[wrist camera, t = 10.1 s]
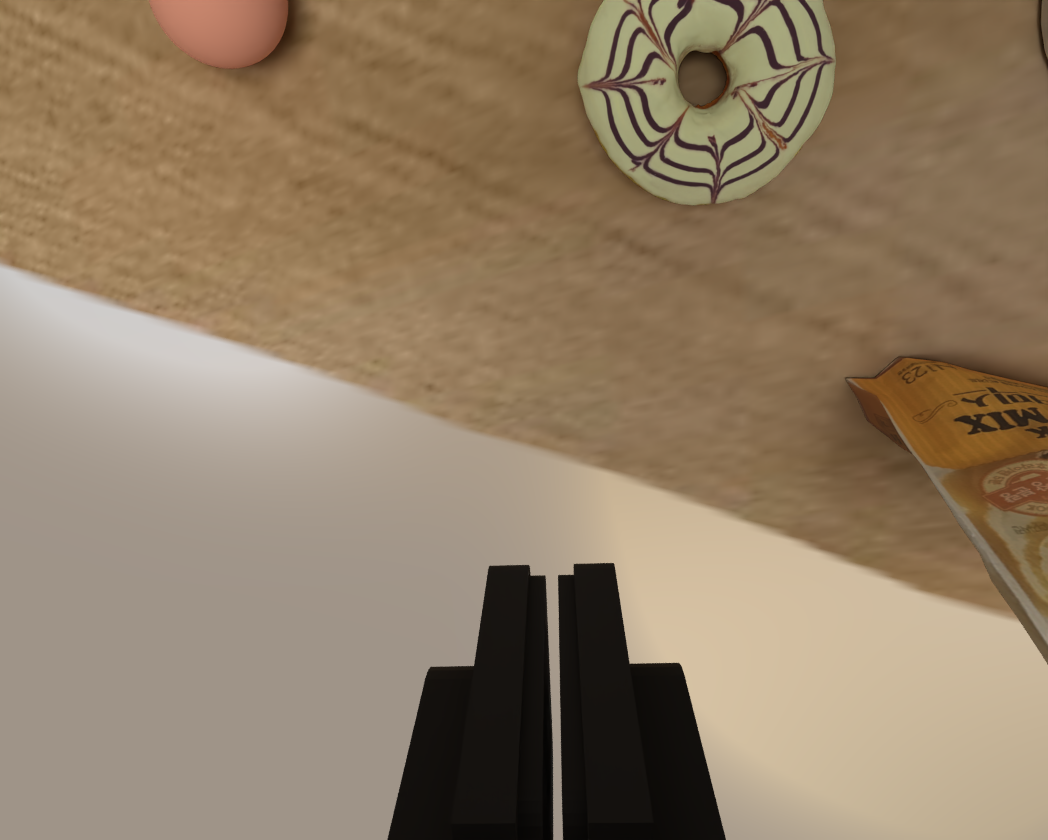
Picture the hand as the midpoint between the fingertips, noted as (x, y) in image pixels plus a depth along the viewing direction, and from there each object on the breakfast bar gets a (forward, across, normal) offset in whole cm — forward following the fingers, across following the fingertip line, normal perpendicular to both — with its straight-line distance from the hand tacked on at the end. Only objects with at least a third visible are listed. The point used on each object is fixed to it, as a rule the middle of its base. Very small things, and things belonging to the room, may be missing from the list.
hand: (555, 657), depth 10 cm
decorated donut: (+30, -7, -9) cm, 32 cm away
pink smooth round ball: (+26, +14, -13) cm, 32 cm away
